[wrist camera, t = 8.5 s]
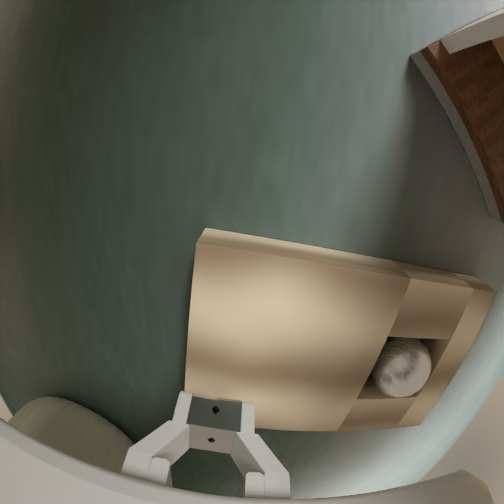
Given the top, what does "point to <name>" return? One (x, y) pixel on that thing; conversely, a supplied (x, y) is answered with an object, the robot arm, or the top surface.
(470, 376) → the top surface
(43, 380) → the top surface
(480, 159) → the display case
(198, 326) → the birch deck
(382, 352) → the steel ball
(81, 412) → the canister
